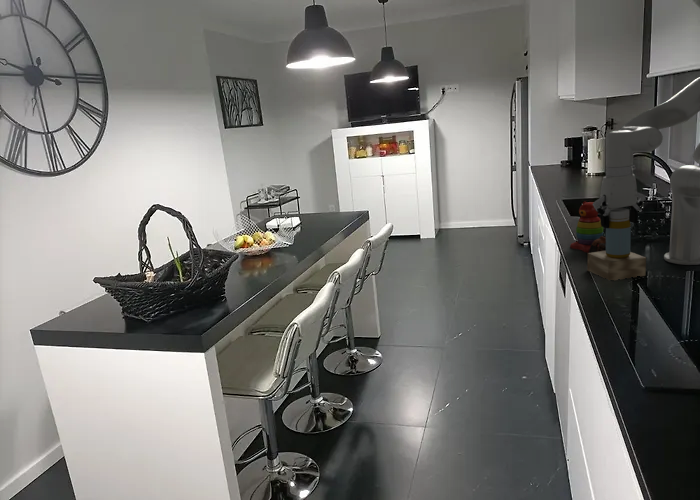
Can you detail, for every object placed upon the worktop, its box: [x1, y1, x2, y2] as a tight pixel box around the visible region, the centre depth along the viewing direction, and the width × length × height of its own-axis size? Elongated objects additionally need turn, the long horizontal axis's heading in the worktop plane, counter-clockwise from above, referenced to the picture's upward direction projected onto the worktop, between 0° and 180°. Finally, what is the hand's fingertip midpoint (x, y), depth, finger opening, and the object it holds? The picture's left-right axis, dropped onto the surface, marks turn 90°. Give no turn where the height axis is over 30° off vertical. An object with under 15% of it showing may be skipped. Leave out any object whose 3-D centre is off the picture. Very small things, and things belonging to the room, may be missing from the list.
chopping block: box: [586, 251, 647, 281], centre depth 170 cm, size 12×12×6 cm
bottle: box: [605, 207, 632, 258], centre depth 167 cm, size 7×7×15 cm
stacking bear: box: [569, 201, 604, 254], centre depth 198 cm, size 11×10×18 cm
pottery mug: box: [589, 235, 606, 253], centre depth 187 cm, size 12×10×8 cm
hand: (619, 224), depth 167 cm, fingers open, 9 cm apart
